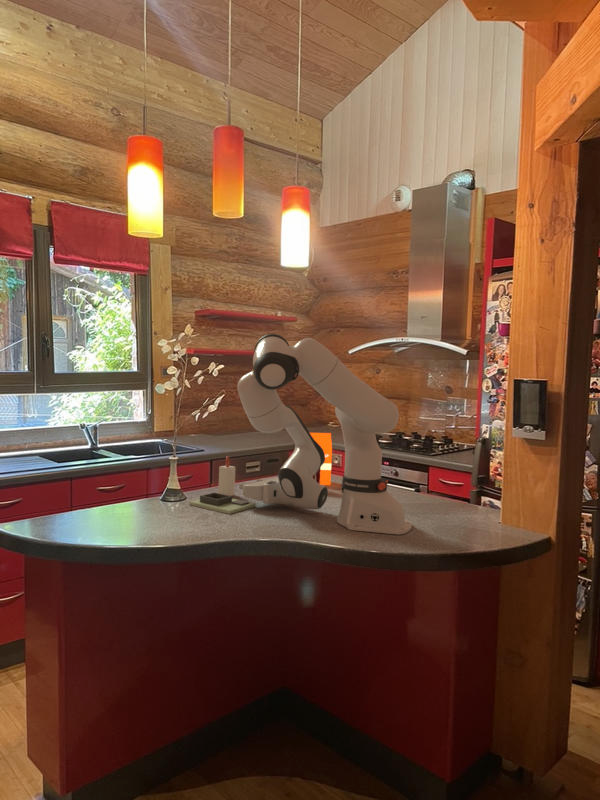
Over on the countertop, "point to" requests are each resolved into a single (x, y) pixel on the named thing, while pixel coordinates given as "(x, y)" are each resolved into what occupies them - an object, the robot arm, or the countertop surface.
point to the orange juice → (326, 445)
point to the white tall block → (226, 479)
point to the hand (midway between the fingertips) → (249, 483)
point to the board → (221, 503)
